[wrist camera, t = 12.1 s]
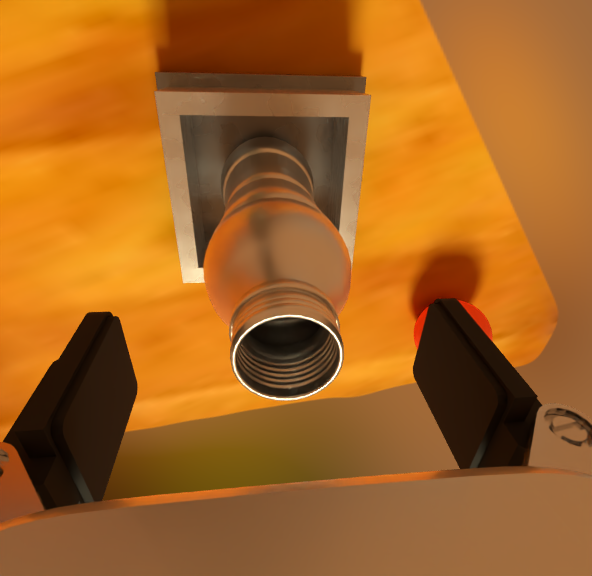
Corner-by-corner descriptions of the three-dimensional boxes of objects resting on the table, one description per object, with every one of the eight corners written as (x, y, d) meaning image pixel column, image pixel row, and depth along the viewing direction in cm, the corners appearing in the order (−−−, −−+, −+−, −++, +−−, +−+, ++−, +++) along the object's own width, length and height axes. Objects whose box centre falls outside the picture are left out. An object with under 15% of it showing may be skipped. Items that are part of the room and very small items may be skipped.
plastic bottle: (290, 115, 27) (356, 229, 10) (321, 201, 30) (409, 394, 13) (206, 151, 27) (133, 315, 10) (246, 231, 31) (240, 450, 14)
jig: (159, 71, 26) (136, 74, 21) (360, 76, 27) (385, 80, 22) (185, 256, 33) (173, 292, 28) (343, 253, 34) (359, 286, 29)
